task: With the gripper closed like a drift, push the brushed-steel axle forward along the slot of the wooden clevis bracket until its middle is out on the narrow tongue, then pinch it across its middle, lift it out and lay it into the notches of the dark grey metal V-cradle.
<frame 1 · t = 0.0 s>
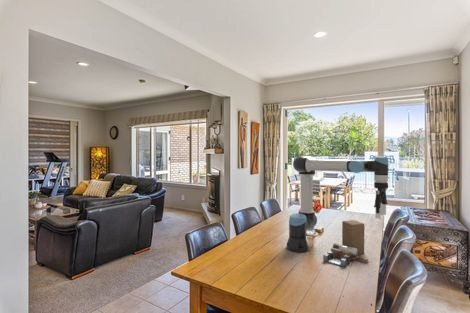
hand: (380, 216, 162), 28 cm above the table, fingers open, 13 cm apart
v block: (336, 262, 162), on the table
axle: (344, 253, 170), point 2 cm above the table, touching wooden clevis bracket
wooden block: (352, 251, 179), on the table
wooden clevis bracket: (343, 256, 171), on the table
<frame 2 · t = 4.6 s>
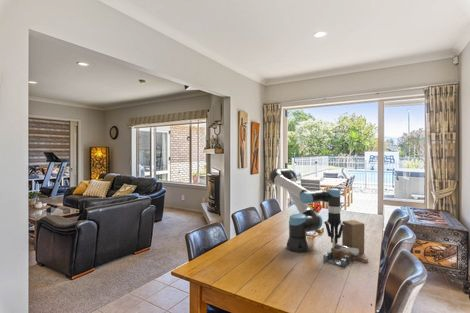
hand: (334, 247, 174), 4 cm above the table, fingers closed
nothing on the table moved.
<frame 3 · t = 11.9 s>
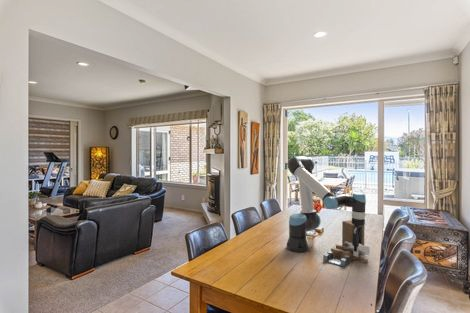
hand: (357, 254, 165), 3 cm above the table, fingers closed on axle, 5 cm apart
axle: (356, 252, 165), point 5 cm above the table, tilted 6°, touching gripper
everything else where it was.
when the fingers open (2 cm above the table, at t = 16.2 s): axle stays where it is, resting on v block.
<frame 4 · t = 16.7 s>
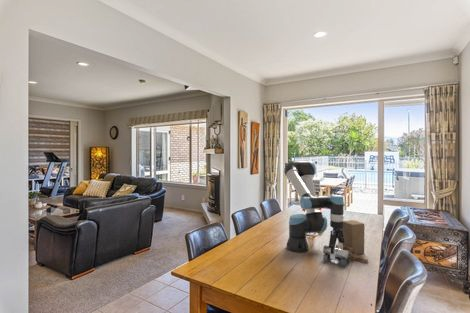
hand: (336, 255, 162), 4 cm above the table, fingers open, 12 cm apart
axle: (335, 256, 162), point 3 cm above the table, tilted 5°, touching v block
everything else where it was.
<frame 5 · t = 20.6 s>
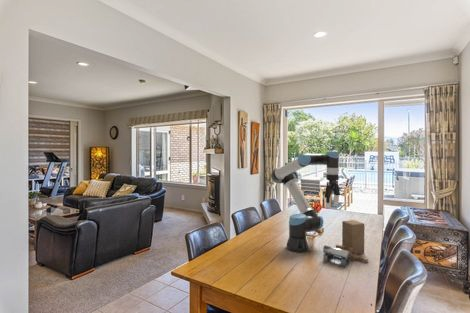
hand: (332, 206, 174), 32 cm above the table, fingers open, 13 cm apart
nothing on the table moved.
at the end: axle 0.5 cm off-centre on the v block, point 3.4 cm above the v block's base; axle tilted 5°; the gripper is holding nothing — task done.
